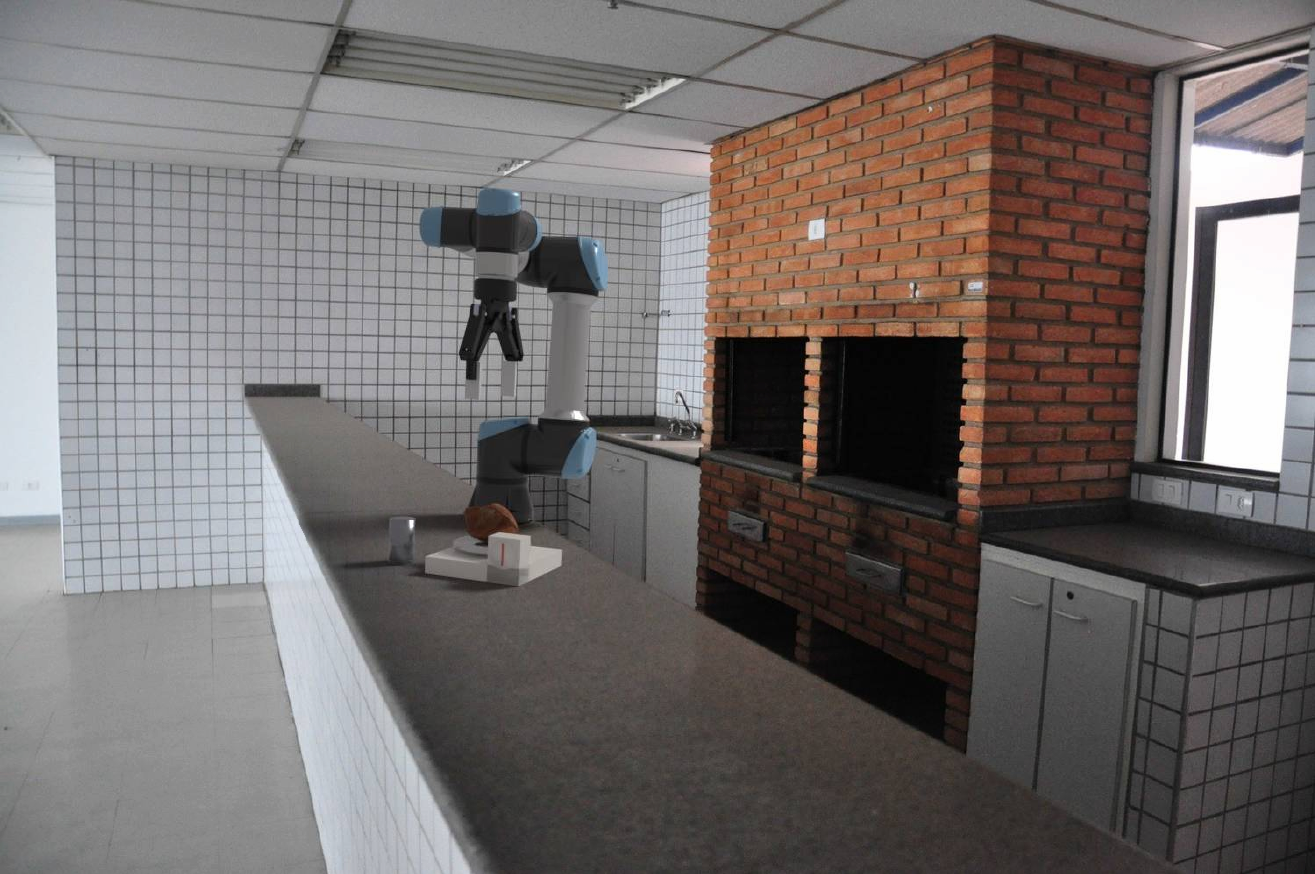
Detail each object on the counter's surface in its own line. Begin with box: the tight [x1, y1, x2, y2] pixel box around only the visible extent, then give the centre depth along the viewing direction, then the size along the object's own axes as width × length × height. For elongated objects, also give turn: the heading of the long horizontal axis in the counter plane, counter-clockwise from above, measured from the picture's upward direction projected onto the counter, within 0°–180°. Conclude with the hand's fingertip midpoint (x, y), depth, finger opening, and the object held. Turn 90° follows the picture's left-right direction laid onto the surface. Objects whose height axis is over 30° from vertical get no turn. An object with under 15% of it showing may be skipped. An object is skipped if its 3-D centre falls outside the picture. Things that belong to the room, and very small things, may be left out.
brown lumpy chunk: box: [462, 503, 521, 543], centre depth 182 cm, size 13×8×10 cm
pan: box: [452, 535, 532, 555], centre depth 182 cm, size 14×14×2 cm
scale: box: [424, 532, 563, 587], centre depth 180 cm, size 18×18×8 cm
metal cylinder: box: [387, 516, 417, 566], centre depth 182 cm, size 5×5×8 cm
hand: (491, 397), depth 180 cm, fingers open, 13 cm apart
